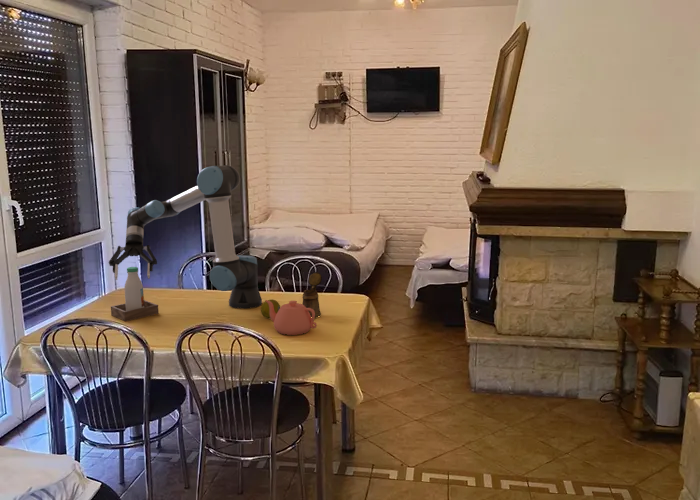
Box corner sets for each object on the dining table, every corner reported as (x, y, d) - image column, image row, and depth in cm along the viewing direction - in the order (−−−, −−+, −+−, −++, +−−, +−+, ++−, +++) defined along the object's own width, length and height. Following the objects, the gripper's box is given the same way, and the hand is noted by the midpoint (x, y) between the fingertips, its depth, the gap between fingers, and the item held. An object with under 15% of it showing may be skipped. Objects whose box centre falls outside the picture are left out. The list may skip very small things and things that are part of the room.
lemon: (270, 322, 268) (270, 303, 266) (256, 319, 272) (255, 301, 270) (285, 316, 277) (285, 298, 276) (271, 313, 281) (271, 295, 279)
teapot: (257, 334, 252) (257, 303, 250) (273, 323, 267) (272, 294, 265) (310, 339, 246) (310, 308, 244) (322, 327, 261) (322, 298, 259)
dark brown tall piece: (326, 311, 285) (326, 272, 281) (317, 319, 272) (316, 278, 269) (308, 309, 287) (307, 270, 284) (297, 317, 274) (297, 277, 271)
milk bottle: (138, 315, 273) (135, 269, 270) (122, 314, 275) (119, 269, 271) (148, 310, 281) (145, 266, 277) (132, 309, 283) (129, 265, 279)
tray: (158, 313, 279) (158, 305, 279) (125, 321, 268) (124, 312, 268) (144, 308, 288) (143, 299, 287) (111, 315, 277) (110, 306, 276)
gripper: (163, 242, 294) (162, 280, 282) (107, 243, 289) (103, 283, 277) (162, 232, 288) (161, 271, 276) (104, 234, 283) (100, 274, 271)
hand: (132, 277), depth 277 cm, fingers open, 13 cm apart
